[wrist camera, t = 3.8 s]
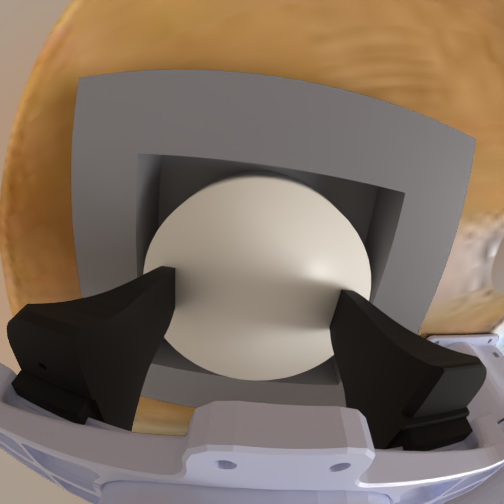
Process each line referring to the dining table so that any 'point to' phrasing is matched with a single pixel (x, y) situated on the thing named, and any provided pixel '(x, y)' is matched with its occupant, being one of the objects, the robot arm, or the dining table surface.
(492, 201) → the dining table surface
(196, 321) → the button cap
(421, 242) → the button housing
